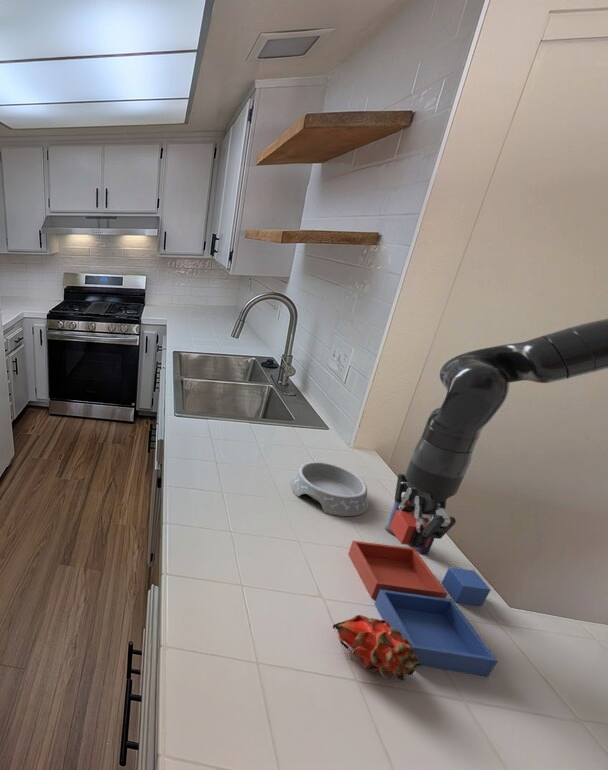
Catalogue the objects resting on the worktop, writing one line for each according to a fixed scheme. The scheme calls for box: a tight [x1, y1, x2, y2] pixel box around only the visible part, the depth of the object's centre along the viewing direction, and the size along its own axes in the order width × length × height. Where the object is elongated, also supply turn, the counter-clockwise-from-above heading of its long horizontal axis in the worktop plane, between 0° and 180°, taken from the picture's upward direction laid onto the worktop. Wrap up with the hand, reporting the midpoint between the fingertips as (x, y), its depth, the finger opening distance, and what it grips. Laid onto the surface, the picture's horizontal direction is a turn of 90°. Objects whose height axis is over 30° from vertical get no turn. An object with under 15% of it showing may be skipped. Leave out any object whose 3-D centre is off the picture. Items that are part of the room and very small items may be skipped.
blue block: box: [441, 567, 491, 607], centre depth 76 cm, size 4×4×4 cm
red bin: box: [347, 540, 448, 599], centre depth 80 cm, size 12×11×4 cm
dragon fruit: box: [332, 614, 421, 681], centre depth 65 cm, size 8×8×12 cm
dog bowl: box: [290, 461, 368, 517], centre depth 105 cm, size 17×18×5 cm
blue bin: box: [374, 589, 498, 678], centre depth 68 cm, size 12×11×4 cm
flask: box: [384, 500, 435, 556], centre depth 88 cm, size 9×3×11 cm, turn 21°
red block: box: [390, 510, 431, 547], centre depth 75 cm, size 4×4×4 cm
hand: (408, 535), depth 76 cm, fingers closed on red block, 4 cm apart
